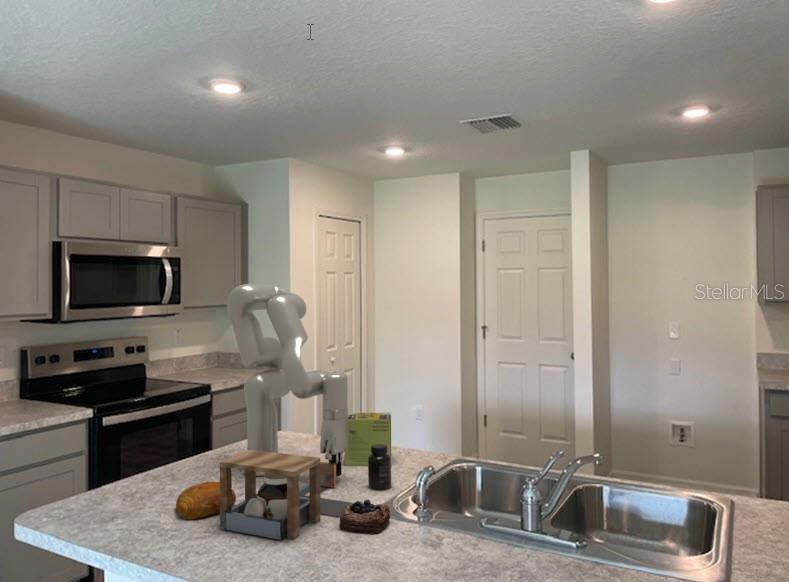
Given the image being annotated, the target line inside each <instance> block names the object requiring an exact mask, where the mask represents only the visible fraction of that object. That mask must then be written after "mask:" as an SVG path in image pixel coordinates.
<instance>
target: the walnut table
mask: <svg viewBox="0 0 789 582" xmlns="http://www.w3.org/2000/svg"><path fill="white" fill-rule="evenodd" d="M320 462H321V457H314V456H308V455H307V456H305V455H297V454H296V455H295V454H290V453H289V454H288V453H282V452H281V453H280V452H278V453H273V452H265V451H257V450H245V451H243V452H240V453H237V454H236V455H233V456H230V457H228V458H226V459H224V460H222V461H219V482H220V512H219V526H220V527H222V512H224V511H226V510H228V509H230V508H231V507H233V505H232V489H233V488H232V485H233V483H232V481H233V478H232V476H233V475H232V474H233V473H232V471H233V470H232V469H234V470H240V471H242V470H245V474H244V500H246V499H248V498H250V497H252V496H254V495H256V494H257V476H256V472H261V473H269V474H276V475H283V476H287V535H286V538H287V539H290V540H296V539H297V538H299V537H300V526H299V488H300V475H301V474H302V473H305V472H307V471H308V470H309V471H308V475H309V477H308V482H309V493H308V494H309V495H308V496H309V520H308V521H309V523H311V524H318V523H319V522H321V520H322V519H321V518H322V517H321V516H322V515H321V508H320V498H321V486H320Z"/></svg>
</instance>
